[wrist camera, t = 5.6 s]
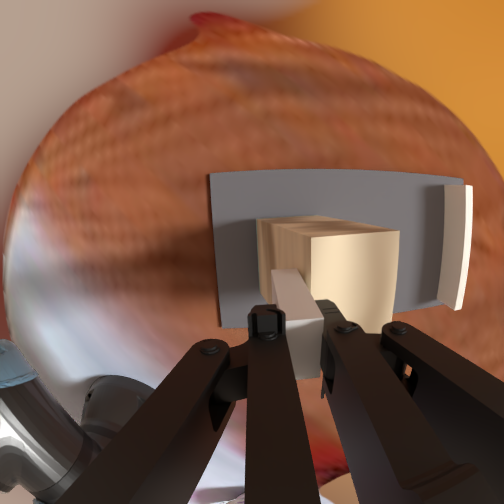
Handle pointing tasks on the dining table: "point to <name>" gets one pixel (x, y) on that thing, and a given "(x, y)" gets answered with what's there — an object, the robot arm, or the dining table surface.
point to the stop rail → (455, 245)
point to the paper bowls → (238, 500)
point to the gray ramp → (334, 206)
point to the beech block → (334, 263)
